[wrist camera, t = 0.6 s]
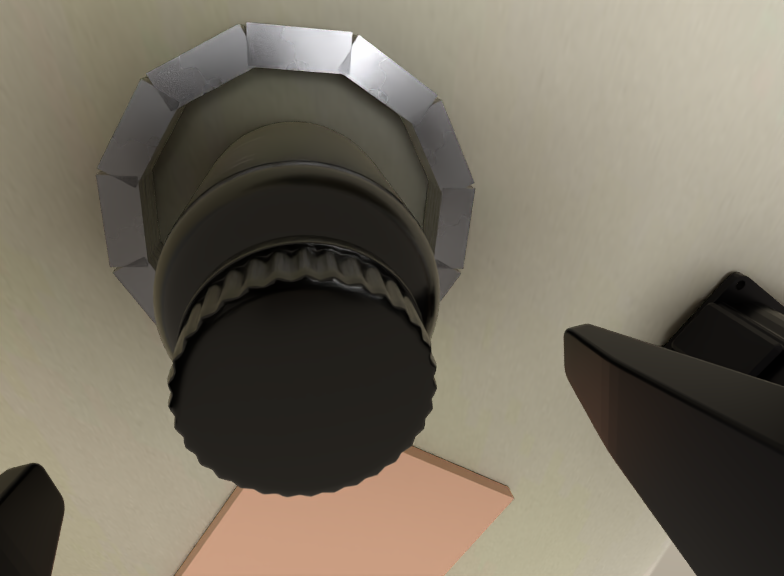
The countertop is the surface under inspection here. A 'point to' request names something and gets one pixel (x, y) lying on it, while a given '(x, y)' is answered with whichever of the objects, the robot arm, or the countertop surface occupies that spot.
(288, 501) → the tile
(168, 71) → the collar
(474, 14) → the countertop surface
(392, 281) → the supplement bottle
